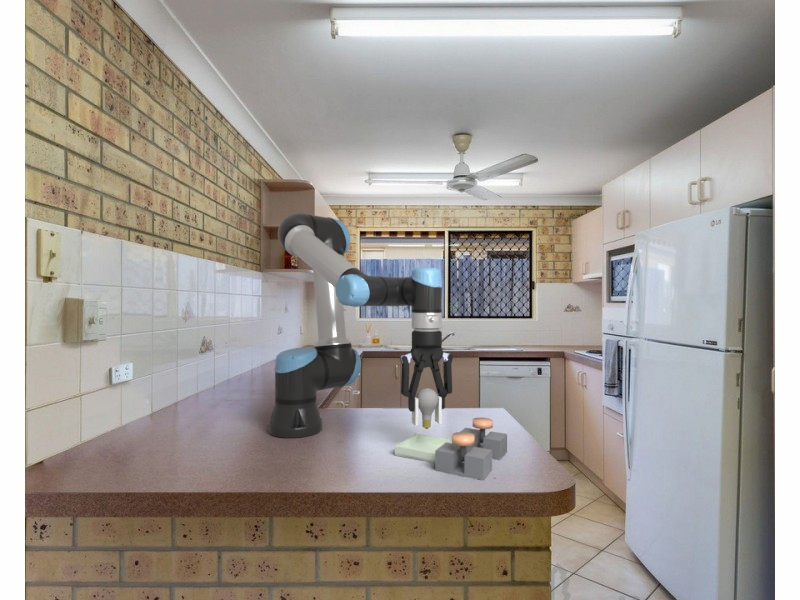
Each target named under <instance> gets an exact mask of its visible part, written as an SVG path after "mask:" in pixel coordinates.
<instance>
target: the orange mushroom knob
mask: <svg viewBox="0 0 800 600" xmlns="http://www.w3.org/2000/svg"><path fill="white" fill-rule="evenodd" d="M493 425H494V420H493V419H491V418H489V417H475V418H473V419H472V427H473V428H474V429H477V430H480V443H481V444H483V438H484V437H485V436H486V430H490V429H493V427H494V426H493Z"/></svg>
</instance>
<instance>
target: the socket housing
mask: <svg viewBox="0 0 800 600" xmlns="http://www.w3.org/2000/svg"><path fill="white" fill-rule="evenodd" d="M459 432H465V433H470V434H473V435H474V436H475V443H474V445H471V446H466V455H465V462H462V461H460V446H458V445H455V444H453V443H448V442H446V443H444V444H443V445H442V446H441V447H439V448H438V449H437V450H435V463H434V464H435V466H434V467H435V469H434V471H435V472H440V473H445V474H449V475H450V474H452V475H456V476H460V477H465V478H471V479H476V480H481V481H485V479H486V478H487V477H488V475H490V473H491V472H492V471H493V459H494V460H499V461H501V460H502V458H504V456H506V454H507V453H508V434H507V433H503V432H495V431H489V433H487V434H485V437H484V438H483V443H480V429H478V428H471V427H464V428H463V429H462V430H460V431H459Z"/></svg>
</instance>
